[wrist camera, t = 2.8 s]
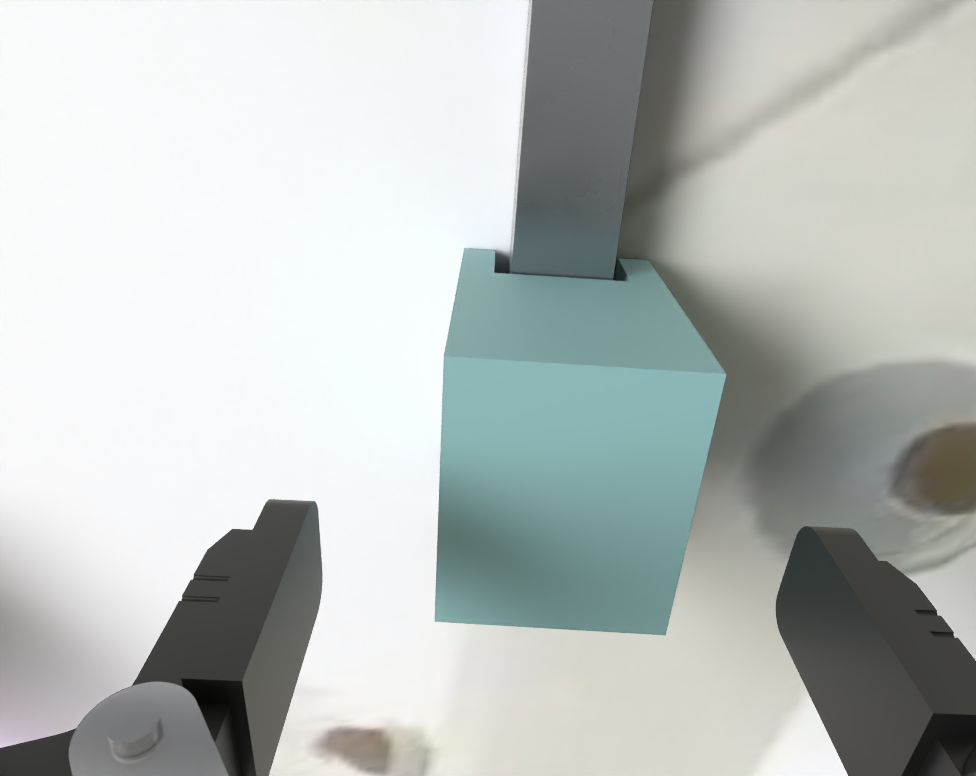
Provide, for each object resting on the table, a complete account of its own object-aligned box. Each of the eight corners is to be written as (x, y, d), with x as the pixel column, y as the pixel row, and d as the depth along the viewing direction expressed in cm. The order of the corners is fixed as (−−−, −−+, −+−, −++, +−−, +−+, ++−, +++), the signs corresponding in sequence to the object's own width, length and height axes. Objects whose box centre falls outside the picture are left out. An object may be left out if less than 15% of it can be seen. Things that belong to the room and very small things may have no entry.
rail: (742, -376, 13) (822, -517, 10) (600, 509, 22) (617, 590, 18) (504, -393, 13) (506, -541, 10) (459, 500, 22) (451, 580, 18)
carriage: (648, 259, 18) (726, 373, 12) (616, 456, 21) (665, 634, 14) (464, 248, 18) (444, 356, 12) (455, 446, 21) (434, 621, 14)
